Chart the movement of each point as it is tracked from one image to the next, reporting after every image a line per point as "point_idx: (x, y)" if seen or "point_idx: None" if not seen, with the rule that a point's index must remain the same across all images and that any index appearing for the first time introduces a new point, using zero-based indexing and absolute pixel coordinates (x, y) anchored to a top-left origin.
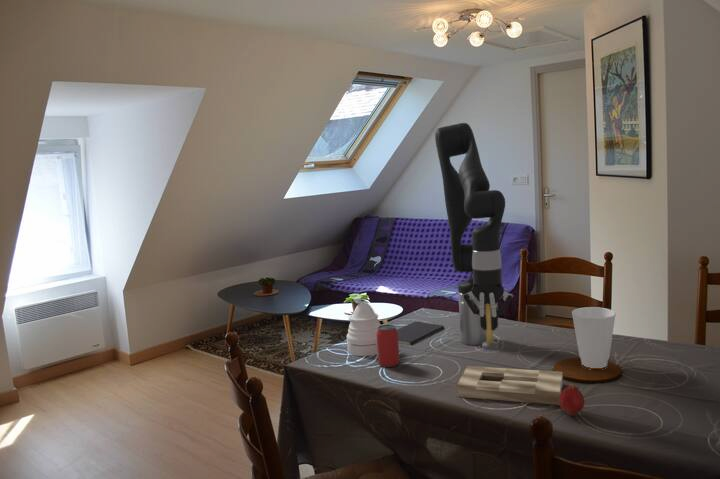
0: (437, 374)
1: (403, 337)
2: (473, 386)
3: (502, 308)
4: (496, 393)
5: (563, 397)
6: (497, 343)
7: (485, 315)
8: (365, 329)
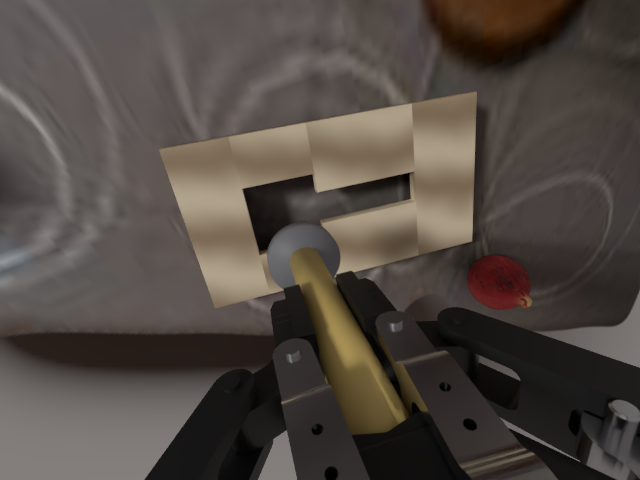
0: (45, 159)
1: None
2: (262, 294)
3: (494, 404)
4: None
5: (492, 307)
6: (335, 246)
7: (313, 348)
8: None
